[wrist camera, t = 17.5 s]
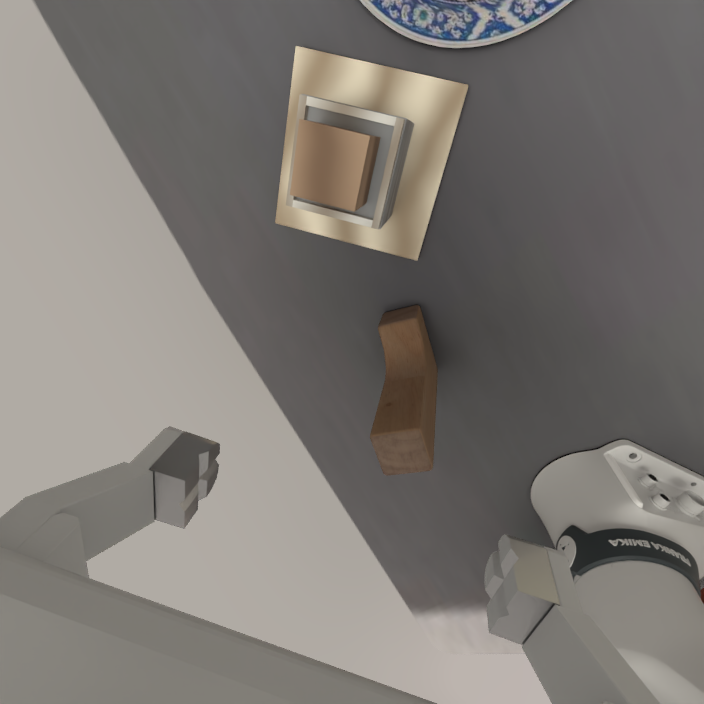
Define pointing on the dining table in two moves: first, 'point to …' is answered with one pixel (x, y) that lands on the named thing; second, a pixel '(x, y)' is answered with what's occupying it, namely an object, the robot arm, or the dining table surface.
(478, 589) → the dining table surface
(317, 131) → the walnut cube
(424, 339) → the wooden block
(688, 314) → the dining table surface
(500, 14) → the ceramic plate
